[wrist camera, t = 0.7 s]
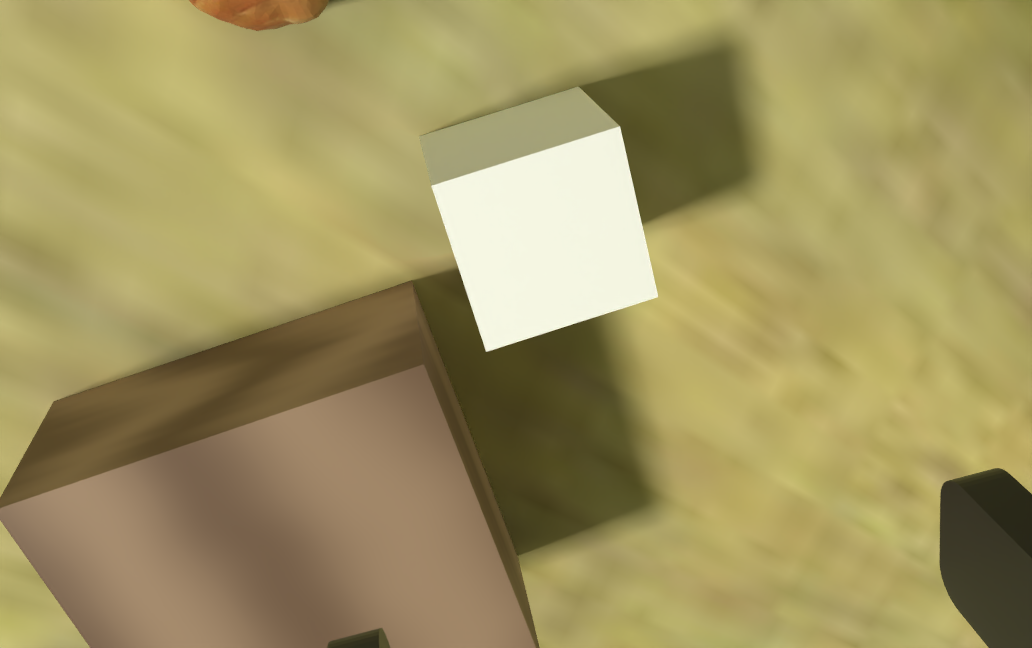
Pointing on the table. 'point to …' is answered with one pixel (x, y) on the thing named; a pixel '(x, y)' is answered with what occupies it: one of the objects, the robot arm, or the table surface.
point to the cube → (540, 216)
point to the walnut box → (274, 496)
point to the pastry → (262, 12)
